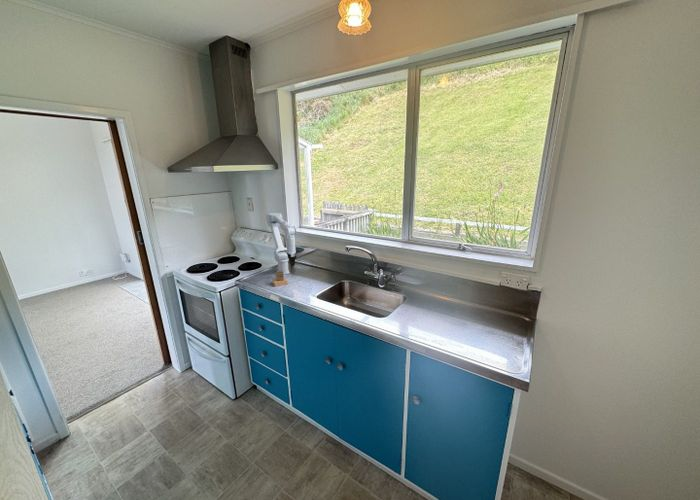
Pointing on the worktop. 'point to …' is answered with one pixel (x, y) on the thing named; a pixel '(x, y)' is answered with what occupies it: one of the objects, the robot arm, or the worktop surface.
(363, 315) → the worktop surface
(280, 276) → the walnut block
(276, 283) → the peach slab
